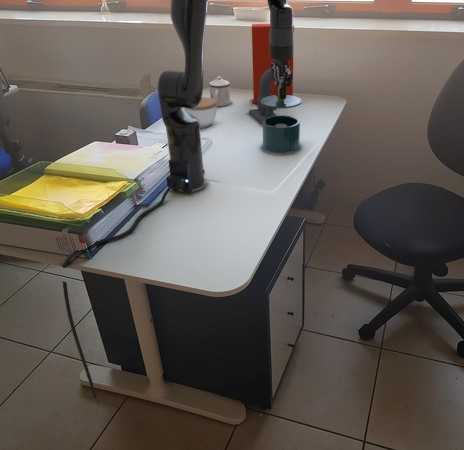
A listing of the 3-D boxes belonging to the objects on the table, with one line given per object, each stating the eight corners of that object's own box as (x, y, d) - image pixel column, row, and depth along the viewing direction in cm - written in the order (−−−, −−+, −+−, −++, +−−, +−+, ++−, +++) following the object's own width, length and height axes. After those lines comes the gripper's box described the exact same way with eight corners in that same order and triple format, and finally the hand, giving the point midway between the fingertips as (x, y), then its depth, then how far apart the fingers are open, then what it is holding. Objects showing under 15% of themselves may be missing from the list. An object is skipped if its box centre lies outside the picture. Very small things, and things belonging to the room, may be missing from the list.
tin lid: (292, 112, 147) (293, 93, 144) (254, 107, 152) (253, 89, 149) (307, 100, 158) (307, 82, 155) (270, 96, 163) (270, 79, 160)
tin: (291, 156, 156) (292, 129, 151) (257, 151, 160) (256, 124, 155) (304, 143, 166) (305, 117, 161) (271, 138, 170) (271, 113, 165)
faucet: (300, 121, 186) (302, 70, 176) (264, 126, 181) (263, 74, 171) (282, 108, 201) (283, 60, 190) (248, 113, 196) (247, 64, 185)
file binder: (254, 98, 213) (252, 23, 196) (291, 98, 213) (292, 23, 196) (253, 104, 206) (251, 26, 189) (292, 103, 206) (293, 26, 189)
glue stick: (284, 149, 161) (284, 128, 157) (273, 147, 162) (273, 126, 158) (288, 144, 164) (288, 124, 160) (277, 143, 165) (277, 122, 161)
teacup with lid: (213, 100, 212) (211, 74, 206) (232, 100, 211) (231, 74, 205) (206, 108, 202) (204, 81, 196) (227, 108, 201) (225, 81, 195)
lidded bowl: (179, 124, 185) (176, 96, 179) (206, 117, 192) (204, 90, 186) (197, 132, 177) (194, 103, 171) (224, 125, 183) (222, 97, 178)
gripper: (262, 39, 149) (263, 93, 158) (278, 47, 138) (278, 105, 147) (283, 37, 152) (283, 91, 161) (301, 45, 141) (300, 102, 150)
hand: (281, 97), depth 154 cm, fingers closed on tin lid, 2 cm apart
